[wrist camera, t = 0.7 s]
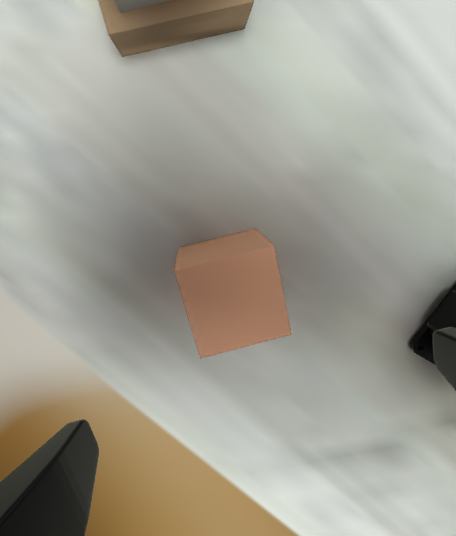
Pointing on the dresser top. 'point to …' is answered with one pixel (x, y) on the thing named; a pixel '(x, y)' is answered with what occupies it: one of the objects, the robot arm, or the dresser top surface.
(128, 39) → the walnut base block
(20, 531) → the robot arm
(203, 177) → the dresser top surface
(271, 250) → the terracotta cube
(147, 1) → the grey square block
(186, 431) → the dresser top surface
